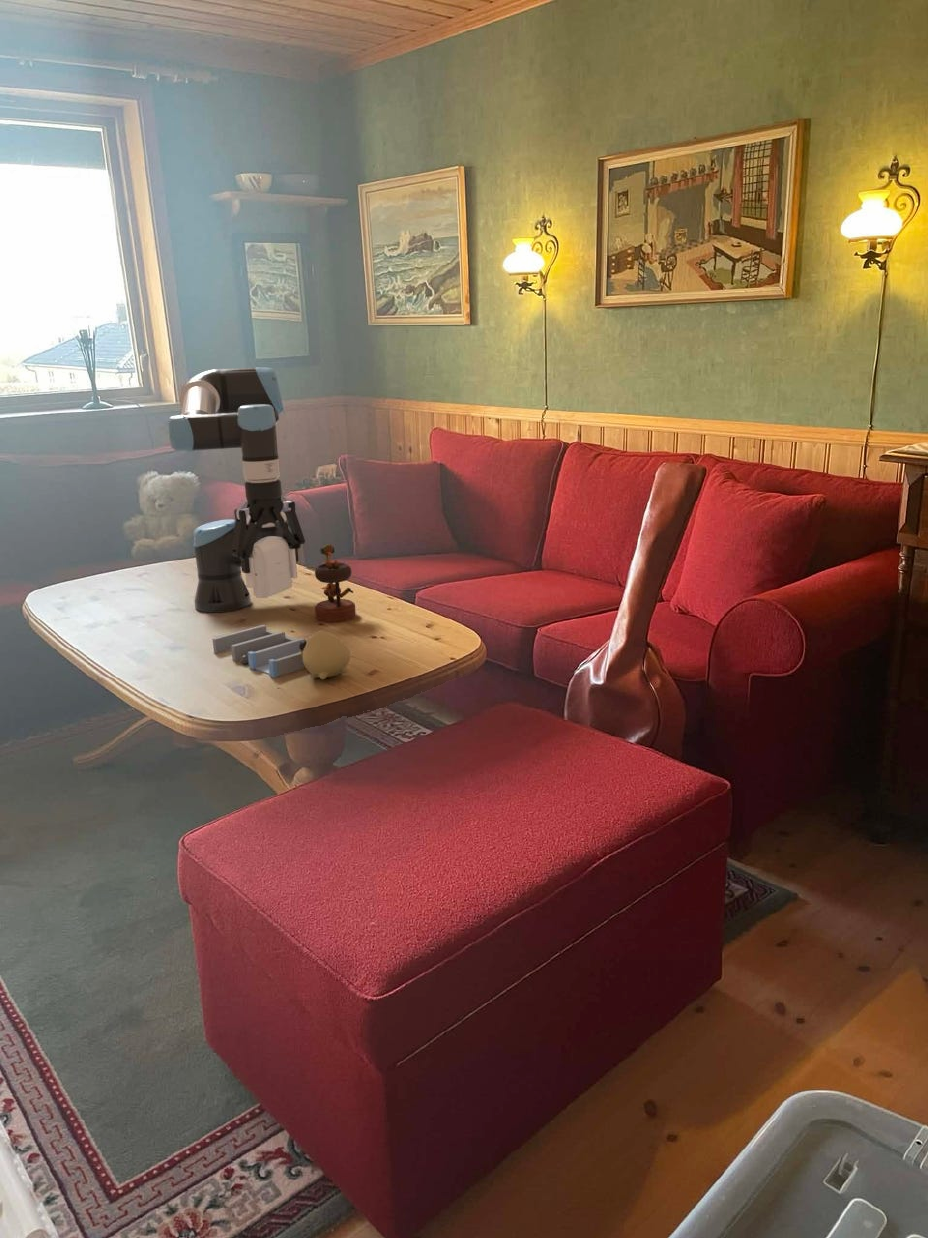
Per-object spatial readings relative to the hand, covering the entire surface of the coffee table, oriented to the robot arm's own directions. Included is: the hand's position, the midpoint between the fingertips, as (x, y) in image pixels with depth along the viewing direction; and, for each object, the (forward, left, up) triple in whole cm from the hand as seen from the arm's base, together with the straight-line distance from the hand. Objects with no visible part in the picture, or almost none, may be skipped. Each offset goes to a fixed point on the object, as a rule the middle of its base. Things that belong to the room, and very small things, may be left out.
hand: (272, 582), depth 203 cm
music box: (-21, +32, -20) cm, 43 cm away
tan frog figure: (+13, +3, -20) cm, 24 cm away
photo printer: (0, 0, -3) cm, 3 cm away
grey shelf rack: (-8, +3, -20) cm, 21 cm away
